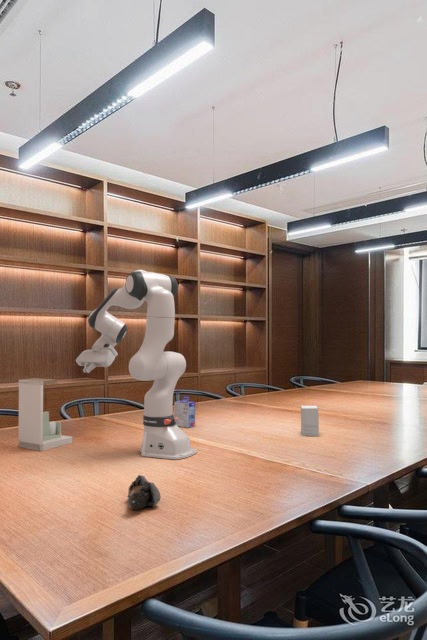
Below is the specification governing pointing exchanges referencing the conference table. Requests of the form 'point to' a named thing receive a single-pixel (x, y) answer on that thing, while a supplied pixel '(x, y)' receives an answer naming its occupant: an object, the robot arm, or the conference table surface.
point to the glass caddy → (50, 428)
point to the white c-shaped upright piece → (35, 416)
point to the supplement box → (309, 421)
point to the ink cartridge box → (184, 413)
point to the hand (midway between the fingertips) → (85, 371)
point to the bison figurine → (142, 494)
